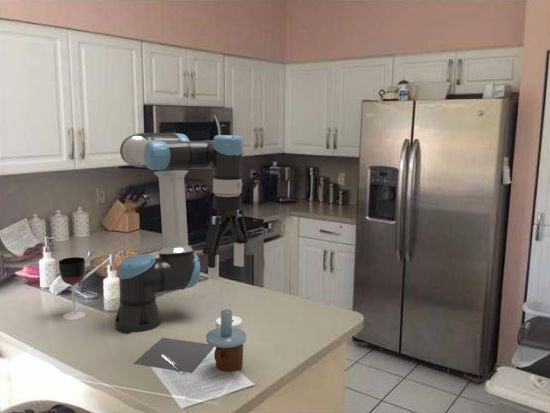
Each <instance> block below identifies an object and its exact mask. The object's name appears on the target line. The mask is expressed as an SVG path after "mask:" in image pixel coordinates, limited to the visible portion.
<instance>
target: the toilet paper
mask: <svg viewBox="0 0 550 413" xmlns="http://www.w3.org/2000/svg"><path fill="white" fill-rule="evenodd" d="M217 328H221V316H219V317H218V318H216V320H215V329H217ZM232 328H237V329H240V330H242V331H243V319H242V318H240V317H239V316H236V315H232Z"/></svg>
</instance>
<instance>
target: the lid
mask: <svg viewBox="0 0 550 413" xmlns="http://www.w3.org/2000/svg"><path fill="white" fill-rule="evenodd" d="M232 316H233V311H232V309H222V310H221V311H220V317H221V328H217V329H216V328H214V329H211V330H210V331H208V332H207V333H206V335H205V338H206V339H205V341H206V344H210V345H212V346H215V347H214V348H216V347H220V348H231V347H236V346H239V345H241V344H243V345H244V343H246V341H247V334H246V332H245V331H244V330H243V329H242V330H240V329H237V328H232Z"/></svg>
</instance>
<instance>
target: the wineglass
mask: <svg viewBox="0 0 550 413" xmlns="http://www.w3.org/2000/svg"><path fill="white" fill-rule="evenodd" d="M85 260H86V259H85V258H84V257H80V256H77V257H73V256H72V257H66V258H63V259H60V260H59V261H58V268H59V274H60V278H61V281H63V282H64V283H66V284H67V285H71V298H72V312H71V311H70V312H67V313H65V314H63V315H62V318H63V319H64V320H67V321H70V320H71V321H72V320H73V321H75V320H79V319H82V318H84V317H86V315H87V314H86V312H83V311H76V298H75V296H76V295H75V294H76V293H75V285H76V284H78V283H79V282H81V280H83V278H84V275H85V267H86V263H85V262H86V261H85Z"/></svg>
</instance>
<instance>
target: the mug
mask: <svg viewBox="0 0 550 413" xmlns="http://www.w3.org/2000/svg"><path fill="white" fill-rule="evenodd" d="M213 355H214V357H213V358H214V361H215V367H216V368H217V369H218V370H219V371H220V372H225V373H226V372H227V373H228V372H231V373H232V372H238V371H240V370H241V369H242V368H243V364H244V343H243V344H241V345H239V346H236V347H231V348H220V347H215V350H214V354H213Z"/></svg>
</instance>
